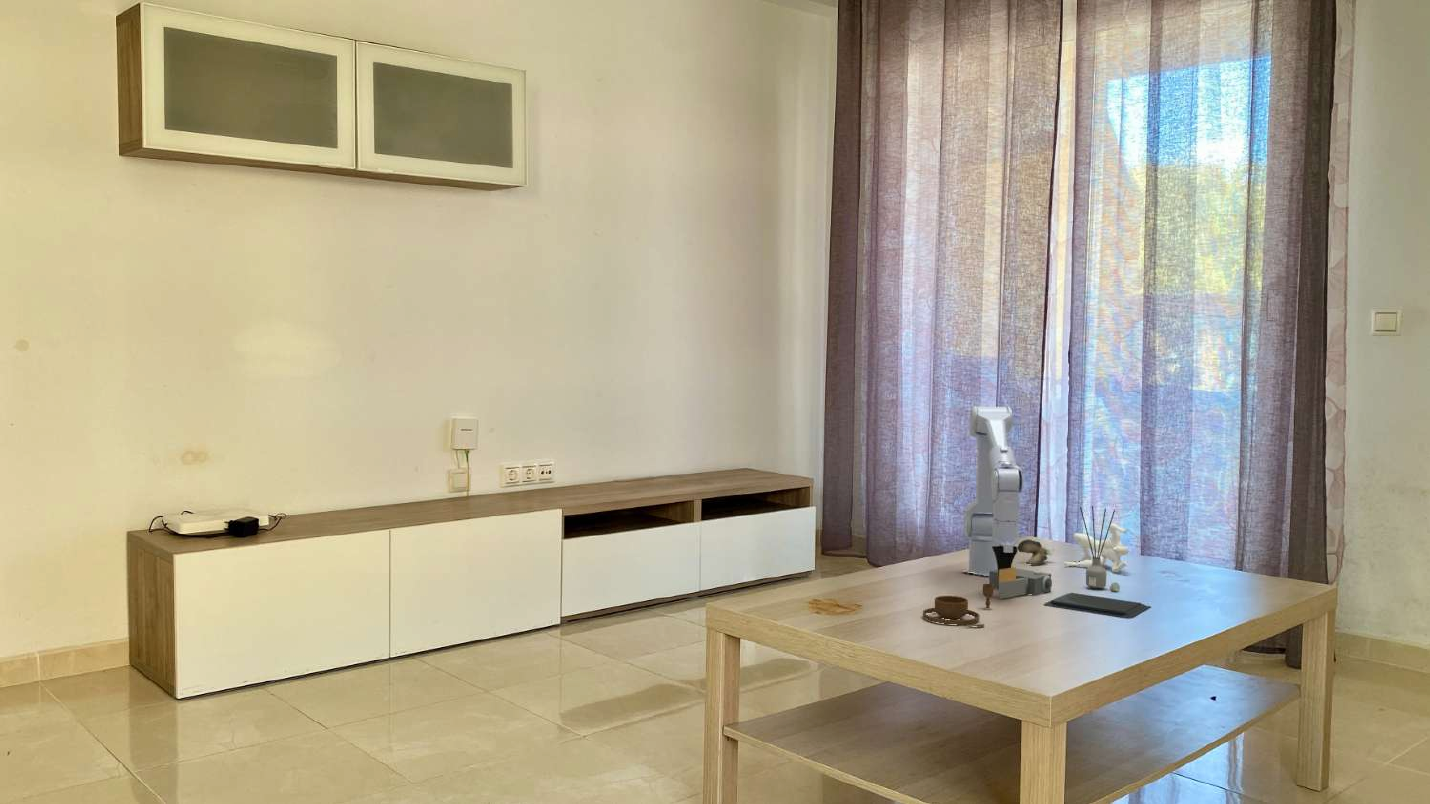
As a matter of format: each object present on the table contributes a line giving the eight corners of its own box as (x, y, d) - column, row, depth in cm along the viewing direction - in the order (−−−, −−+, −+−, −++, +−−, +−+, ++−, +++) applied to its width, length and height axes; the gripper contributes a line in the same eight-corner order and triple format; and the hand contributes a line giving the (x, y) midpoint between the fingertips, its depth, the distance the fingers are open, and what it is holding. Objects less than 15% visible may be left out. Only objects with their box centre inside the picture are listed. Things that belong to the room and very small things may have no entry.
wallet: (1040, 599, 251) (1067, 589, 263) (1040, 608, 251) (1067, 596, 263) (1129, 614, 238) (1153, 602, 250) (1129, 622, 238) (1153, 610, 250)
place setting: (907, 613, 244) (907, 586, 244) (988, 608, 249) (989, 582, 249) (943, 633, 227) (944, 604, 227) (1030, 627, 232) (1031, 600, 232)
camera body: (1005, 582, 275) (1005, 564, 274) (1053, 591, 266) (1054, 572, 266) (989, 587, 269) (989, 569, 268) (1037, 596, 260) (1038, 577, 260)
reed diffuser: (1074, 587, 270) (1076, 506, 269) (1083, 583, 276) (1085, 503, 275) (1116, 593, 264) (1119, 510, 263) (1125, 588, 270) (1127, 507, 269)
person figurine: (1058, 525, 297) (1125, 521, 286) (1076, 530, 307) (1142, 526, 296) (1060, 574, 294) (1128, 572, 283) (1079, 578, 304) (1146, 575, 293)
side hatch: (998, 597, 256) (998, 569, 256) (1024, 593, 262) (1025, 564, 262) (1001, 598, 255) (1002, 570, 255) (1028, 593, 261) (1029, 565, 261)
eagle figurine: (1025, 554, 307) (1010, 552, 301) (1041, 534, 305) (1026, 532, 299) (1045, 572, 303) (1030, 571, 296) (1061, 553, 301) (1046, 551, 294)
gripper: (985, 513, 266) (983, 569, 267) (991, 524, 251) (989, 583, 252) (1015, 515, 265) (1013, 571, 266) (1023, 525, 250) (1021, 585, 251)
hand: (1003, 577), depth 259 cm, fingers closed, pressing on side hatch
